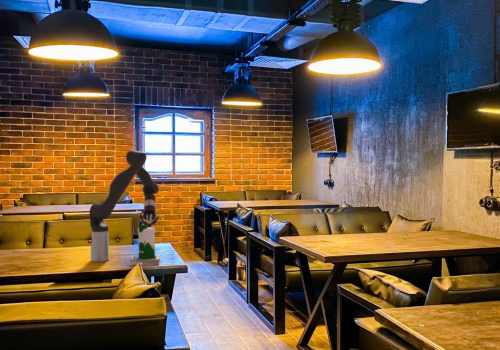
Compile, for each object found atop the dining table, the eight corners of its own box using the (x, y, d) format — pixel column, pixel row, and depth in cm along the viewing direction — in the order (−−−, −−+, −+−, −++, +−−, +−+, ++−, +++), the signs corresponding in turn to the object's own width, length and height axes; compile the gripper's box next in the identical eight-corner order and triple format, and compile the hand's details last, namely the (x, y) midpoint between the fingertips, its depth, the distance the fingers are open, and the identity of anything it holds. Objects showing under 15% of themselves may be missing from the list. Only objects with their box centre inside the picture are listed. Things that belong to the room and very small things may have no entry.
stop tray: (132, 260, 285) (132, 255, 285) (159, 259, 288) (159, 254, 287) (130, 265, 271) (130, 260, 271) (158, 264, 273) (158, 259, 273)
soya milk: (136, 258, 291) (135, 224, 290) (148, 256, 298) (148, 223, 297) (144, 260, 285) (144, 226, 284) (157, 258, 292) (157, 224, 291)
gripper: (138, 204, 316) (137, 226, 305) (159, 204, 318) (159, 225, 306) (139, 212, 322) (138, 233, 310) (160, 211, 324) (159, 232, 312)
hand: (148, 229), depth 308 cm, fingers closed
